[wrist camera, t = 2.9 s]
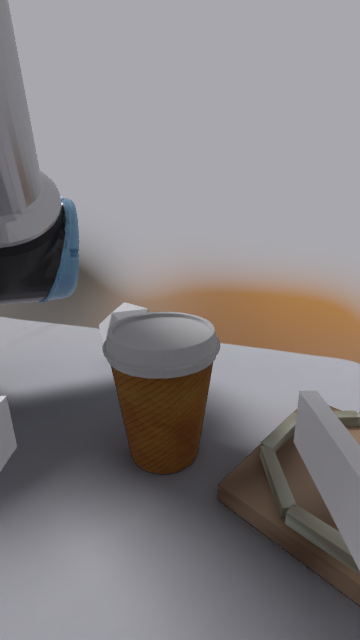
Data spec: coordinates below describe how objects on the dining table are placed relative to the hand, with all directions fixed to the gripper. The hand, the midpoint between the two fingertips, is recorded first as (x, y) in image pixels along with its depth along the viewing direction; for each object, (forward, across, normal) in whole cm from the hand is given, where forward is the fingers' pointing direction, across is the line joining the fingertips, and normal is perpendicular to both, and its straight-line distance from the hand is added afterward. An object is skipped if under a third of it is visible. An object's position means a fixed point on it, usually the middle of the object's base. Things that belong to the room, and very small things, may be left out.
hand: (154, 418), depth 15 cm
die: (+32, -6, -12) cm, 35 cm away
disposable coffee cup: (+12, 0, -12) cm, 17 cm away
